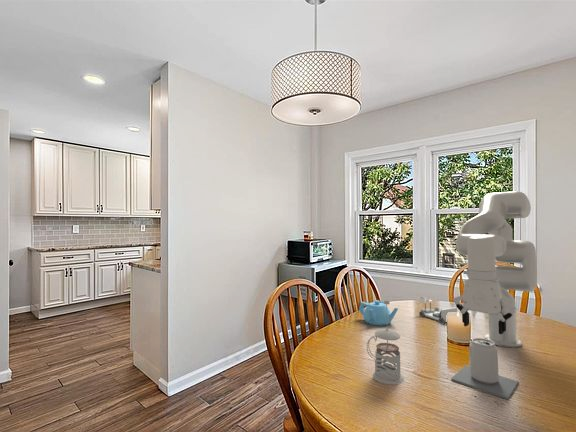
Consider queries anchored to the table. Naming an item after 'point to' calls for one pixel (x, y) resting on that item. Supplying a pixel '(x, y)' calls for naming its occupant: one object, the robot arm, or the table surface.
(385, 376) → the french press
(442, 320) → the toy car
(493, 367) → the can
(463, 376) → the mat
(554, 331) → the table surface
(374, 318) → the teapot
